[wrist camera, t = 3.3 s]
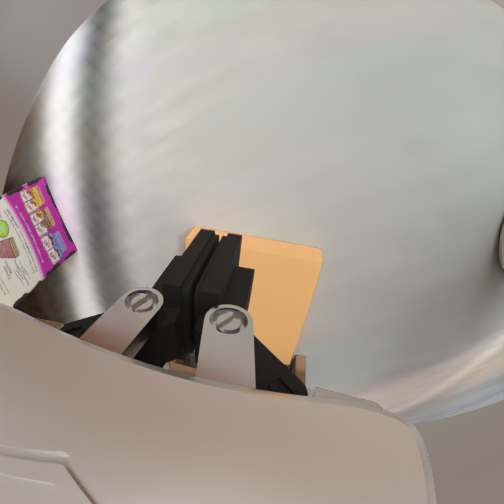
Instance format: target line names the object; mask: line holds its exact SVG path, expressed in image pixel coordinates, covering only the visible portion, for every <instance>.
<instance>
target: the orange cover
mask: <svg viewBox="0 0 504 504" xmlns="http://www.w3.org/2000/svg"><path fill="white" fill-rule="evenodd" d="M201 229H205V228H199V227H194V228H193V230H192V231H191V232H190V233H189V234H188V236H187V237H186V238H185V250H186V249H187V248H188V246H189V245H190V243H191V242H192V241H193V239H194V238H195V236H196V235H197V234H198V232H199V231H200V230H201ZM207 230H211V229H207ZM213 231H215V234H216V235H219V242H220V240H221V238H222V236H227V235H228V233H229V232H223V231H217V230H213ZM232 234H235V233H232ZM238 235H241V234H238ZM322 263H323V262H322V256H321V249H320V248H315V247H309V246H304V245H298V244H293V243H287V242H281V241H276V240H270V239H264V238H258V237H253V236H247V235H242V243H241V252H240V260H239V267H245V268H251V269H255V272H254V279H253V285H252V292H251V297H250V303H249V307H248V312H249V314H250V315H251V316H252V319H253V329H254V336H255V337H256V338H257V339H258V340H259V341H260V342H261V343H262V344H263V345H265V346H266V347H267V348H268V349H269V350H270V351H271V352H272V353H273V354H274V355H275V356H276V357H277V358H278V359H279V360H280V361H281V362H282V363H283V364H286V365H289V364H290V362H291V359H292V356H293V353H294V350H295V348H296V345H297V342H298V339H299V336H300V333H301V330H302V327H303V324H304V321H305V318H306V315H307V312H308V309H309V306H310V303H311V300H312V297H313V293H314V290H315V287H316V284H317V280H318V277H319V273H320V270H321V267H322Z"/></svg>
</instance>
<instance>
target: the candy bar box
mask: <svg viewBox="0 0 504 504" xmlns="http://www.w3.org/2000/svg"><path fill="white" fill-rule="evenodd" d="M76 251H77V249H76V247H75V245H74V243H73V241H72V239H71V237H70V235H69V233H68V231H67V229H66V227H65V225H64V223H63V220H62V218H61V216H60V214H59V212H58V210H57V207H56V205H55V203H54V200H53V198H52V196H51V193H50V191H49V189H48V186H47V184H46V181H45V178H44V176H42V177H39V178H37V179H35V180H32V181H30V182H28V183H26V184H24V185H22V186H20V187H18V188H16V189H14V190H12V191H10V192H8V193H6V194H4V195H2V196H1V197H0V303H2V304H4V305H7V306H10V307H12V308H15V307H16V306H17V305H18V304H19V303H20V302H21V301H22V300H23V299H24V298H25V297H26V296H27V295H28V294H29V293H30V292H31V291H32V290H33V289H34V288H35V287H36V286H37V285H38V284H39V283H40V282H41V281H42V280H43V279H45V278H46V277H47V276H48V275H49V274H50V273H51V272H52V271H54V270H55V269H56V268H57V267H58V266H59V265H60V264H62V263H63V262H64V261H65V260H66V259H68V258H69V257H70V256H71V255H72V254H74V253H75V252H76Z"/></svg>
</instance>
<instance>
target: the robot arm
mask: <svg viewBox="0 0 504 504" xmlns="http://www.w3.org/2000/svg"><path fill="white" fill-rule="evenodd" d="M241 243H242V235H238V234H232V233H228V235H227V236H222V238H221V240H220V242H219V235H216V234H215V231H213V230H207V229H201V230H200V231H199V232H198V234H197V235H196V236H195V238H194V239H193V241H192V242H191V243H190V245H189V246H188V248H187V249H186V250H185V252H184V253H183V255H182V256H175V257H174V258H173V260H172V261H171V262H170V264H169V265H168V266H167V268H166V269H165V271H164V272H163V273H162V275H161V276H160V278H159V279H158V280H157V282H156V283H155V285H154V286H153V287H152V288H149V287H138V288H134V289H131V290H129V291H127V292H126V293H125V294H123V295H122V296H121V297H120V298H119V299H118V300H117V301H116V302H115V303H114V304H113V305H112V306H111V307H110V308H109V309H108V310H107V311H106V312H105V313H102V314H98V315H95V316H91V317H88V318H84V319H81V320H77V321H74V322H70V323H68V324H66V325H64V326H63V324H62V323H58V322H52V321H47V320H42V319H37V318H33V317H31V316H29V315H27V314H25V313H23V312H21V311H19V310H16V309H14V308H12V307H10V306H7V305H4V304H2V303H0V504H436V496H435V487H434V480H433V474H432V469H431V464H430V460H429V456H428V453H427V450H426V447H425V444H424V441H423V439H422V437H421V435H420V434H419V432H418V430H417V429H416V428H415V427H414V425H412V424H411V423H410V422H409V421H407V420H406V419H404V418H402V417H400V416H398V415H396V414H394V413H391V412H389V411H386V410H383V408H382V407H381V406H379V405H378V404H377V403H375V402H372V401H370V400H365V399H361V398H356V397H352V396H348V395H344V394H340V393H336V392H332V391H329V390H325V389H322V388H318V387H316V389H315V390H313V389H310V388H306V386H305V385H304V383H303V382H302V381H301V380H300V379H299V378H298V377H297V376H296V375H295V374H294V373H293V372H292V371H291V370H290V369H288V368H287V367H286V366H285V365H284V364H283V363H282V362H281V361H280V360H279V359H278V358H277V357H276V356H275V355H274V354H273V353H272V352H271V351H270V350H269V349H268V348H267V347H266V346H265V345H263V344H262V343H261V342H260V341H259V340H258V339H257V338H256V337H255V336H254V329H253V319H252V316H251V315H250V314H249V312H248V307H249V303H250V297H251V292H252V285H253V279H254V272H255V269H251V268H245V267H239V260H240V252H241ZM499 260H500V263H501V267H502V268H503V270H504V223H503V226H502V230H501V234H500V241H499ZM194 349H195V356H196V364H197V370H196V377H194V376H190V375H186V374H183V373H179V372H175V371H171V370H169V369H170V367H171V361H173V360H176V359H180V360H184V361H185V359H186V356H187V354H188V353H190V354H192V353H193V351H194Z"/></svg>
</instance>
